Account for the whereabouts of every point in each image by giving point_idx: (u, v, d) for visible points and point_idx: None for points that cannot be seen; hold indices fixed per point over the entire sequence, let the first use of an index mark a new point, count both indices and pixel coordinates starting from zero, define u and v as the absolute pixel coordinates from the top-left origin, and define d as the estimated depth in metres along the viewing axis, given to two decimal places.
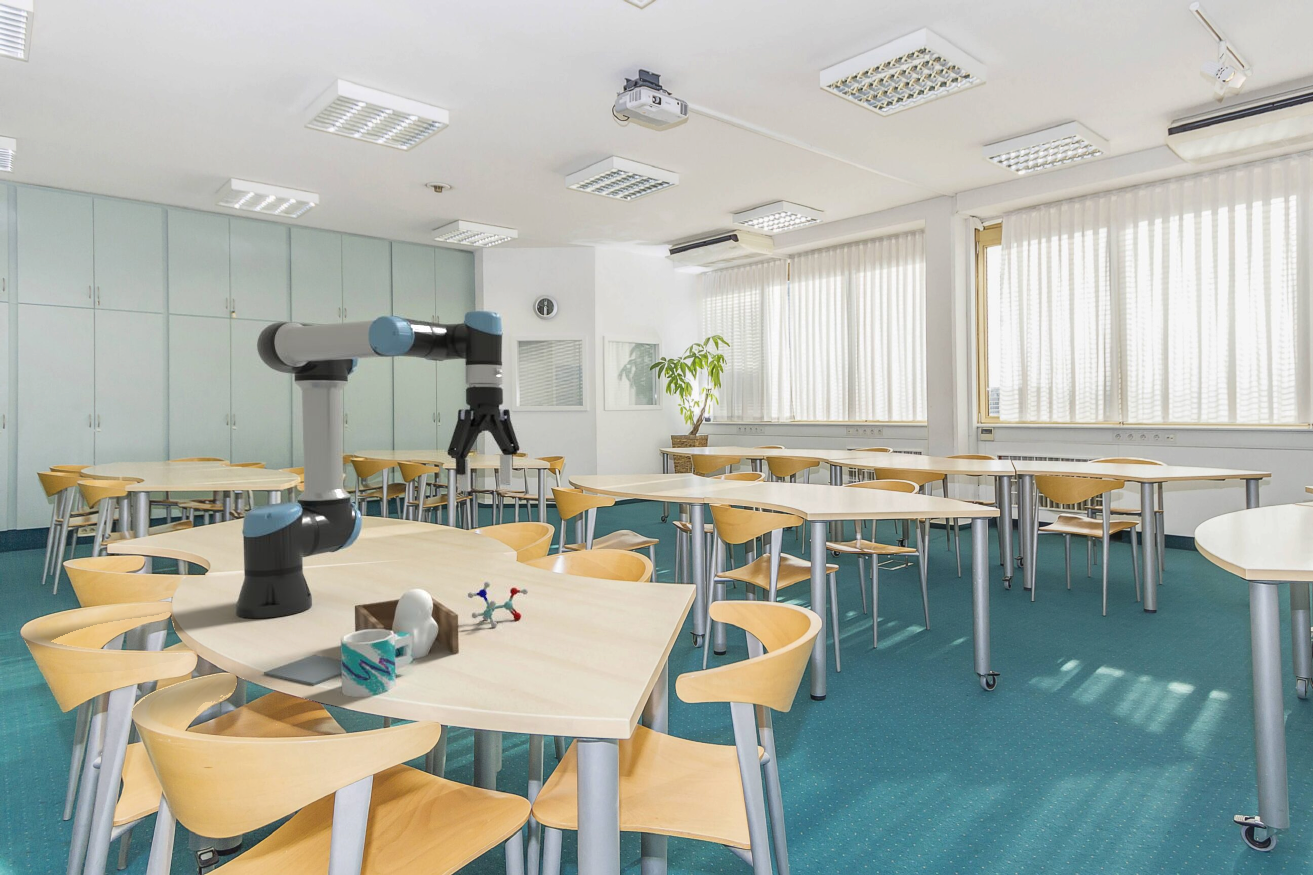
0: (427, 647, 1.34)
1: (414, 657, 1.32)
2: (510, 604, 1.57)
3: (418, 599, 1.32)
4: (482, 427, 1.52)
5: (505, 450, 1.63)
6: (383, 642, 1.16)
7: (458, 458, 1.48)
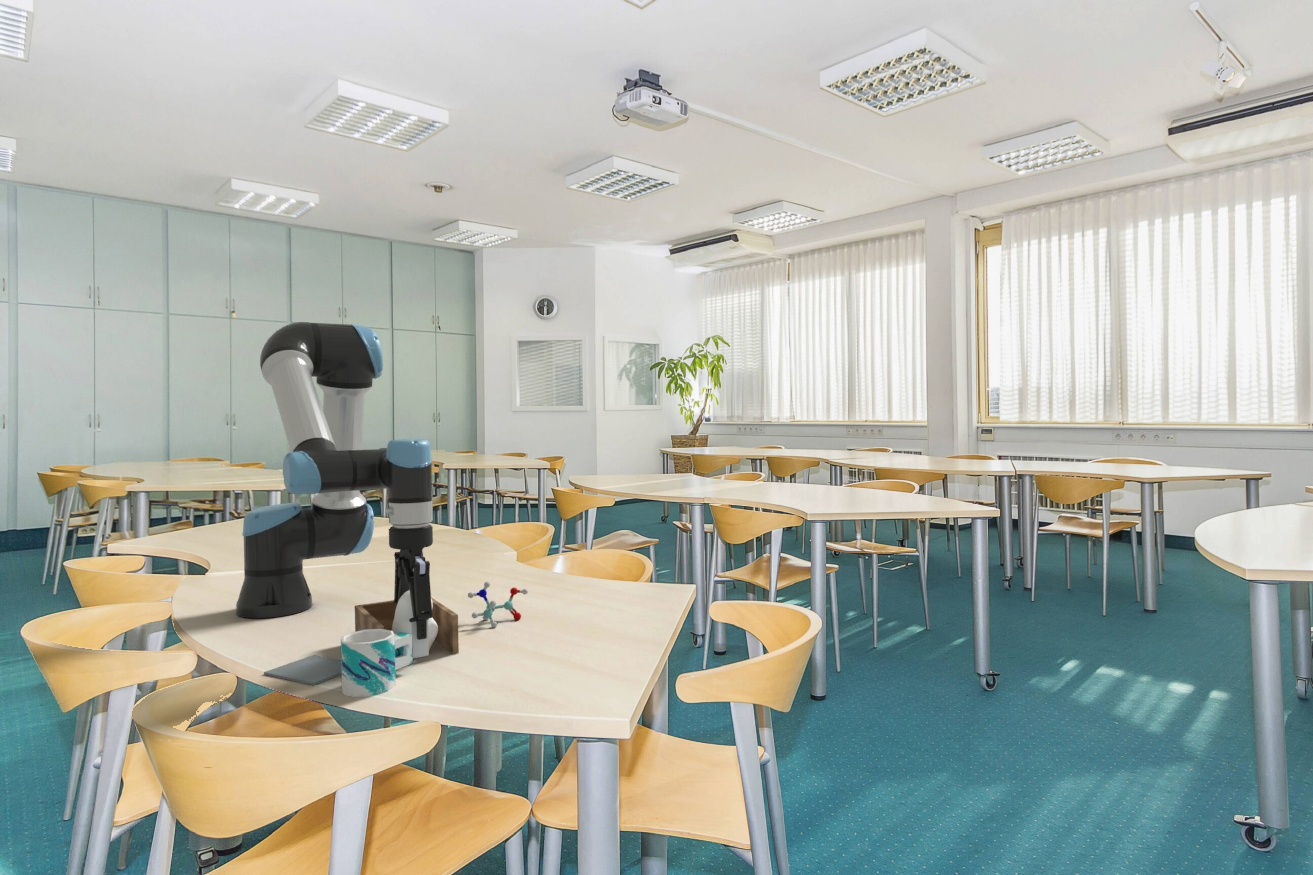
0: None
1: None
2: (510, 604, 1.57)
3: None
4: (398, 573, 1.35)
5: None
6: (383, 642, 1.16)
7: None
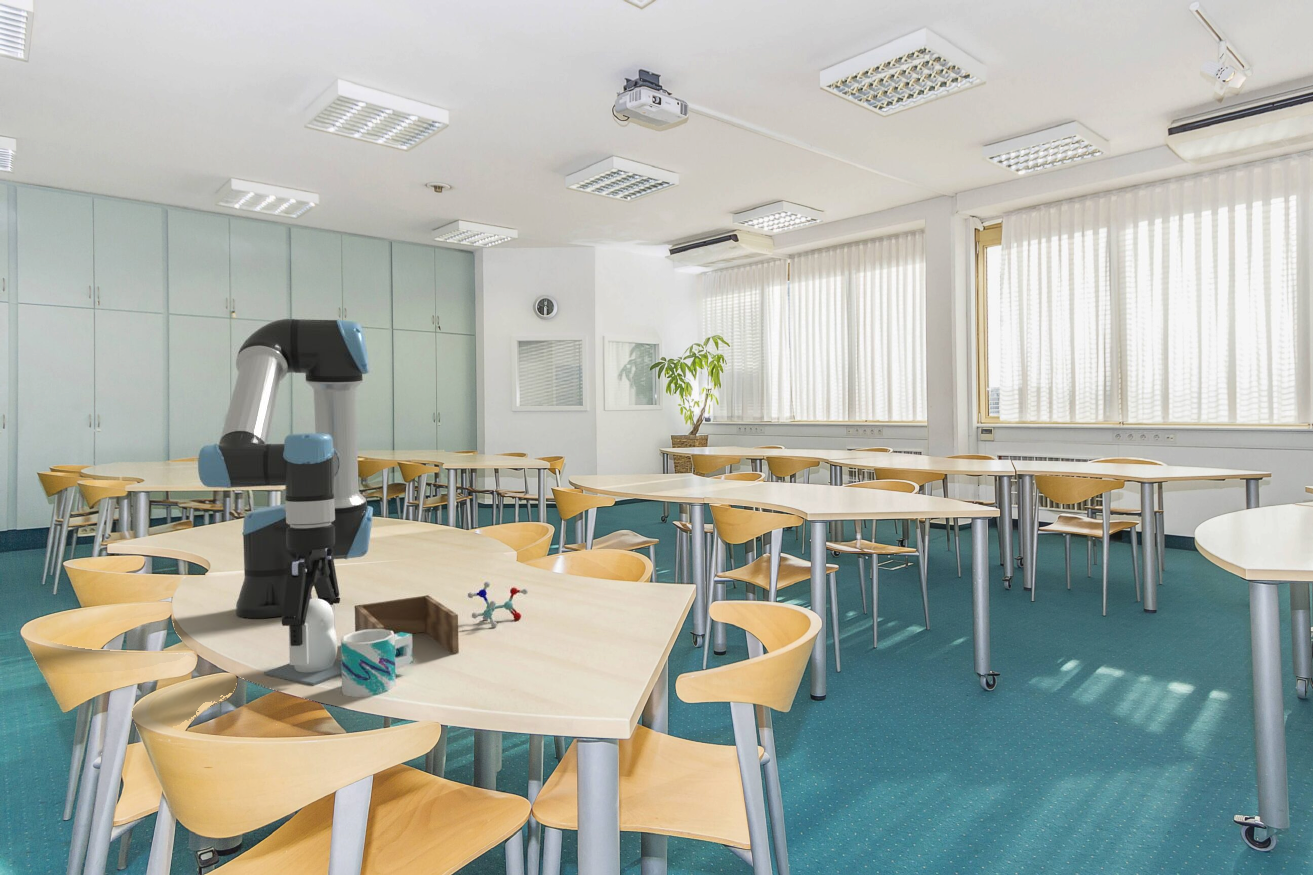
0: (320, 663, 1.25)
1: (304, 671, 1.24)
2: (510, 604, 1.57)
3: None
4: None
5: None
6: (383, 642, 1.16)
7: None
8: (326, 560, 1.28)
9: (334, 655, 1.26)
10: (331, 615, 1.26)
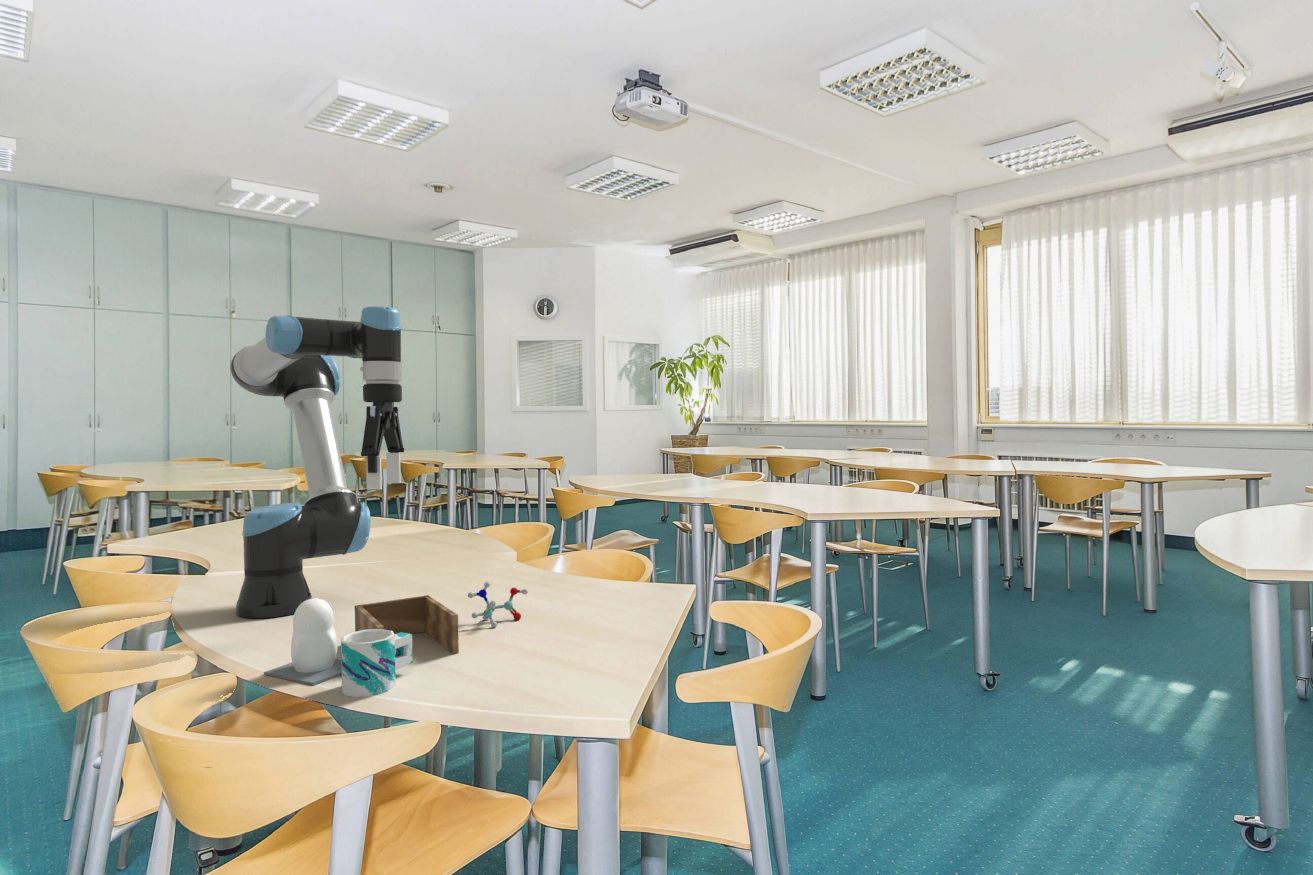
0: (320, 662, 1.25)
1: (304, 671, 1.24)
2: (510, 604, 1.57)
3: (306, 610, 1.23)
4: None
5: None
6: (383, 642, 1.16)
7: None
8: (394, 414, 1.55)
9: (334, 655, 1.26)
10: (331, 615, 1.26)
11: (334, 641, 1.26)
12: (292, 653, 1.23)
